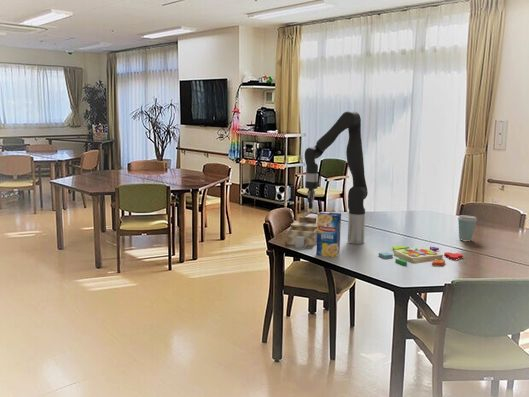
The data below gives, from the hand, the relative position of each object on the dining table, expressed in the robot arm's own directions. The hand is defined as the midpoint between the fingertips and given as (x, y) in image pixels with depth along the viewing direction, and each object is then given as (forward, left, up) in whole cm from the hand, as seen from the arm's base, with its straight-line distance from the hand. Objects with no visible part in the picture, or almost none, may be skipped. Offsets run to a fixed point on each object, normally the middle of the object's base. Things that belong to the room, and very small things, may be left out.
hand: (310, 208), depth 303 cm
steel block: (-1, +31, -16) cm, 35 cm away
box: (0, +21, -16) cm, 26 cm away
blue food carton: (-18, +40, -16) cm, 47 cm away
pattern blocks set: (-64, +28, -17) cm, 72 cm away
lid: (0, +12, -8) cm, 14 cm away
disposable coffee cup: (-91, -17, -16) cm, 94 cm away
